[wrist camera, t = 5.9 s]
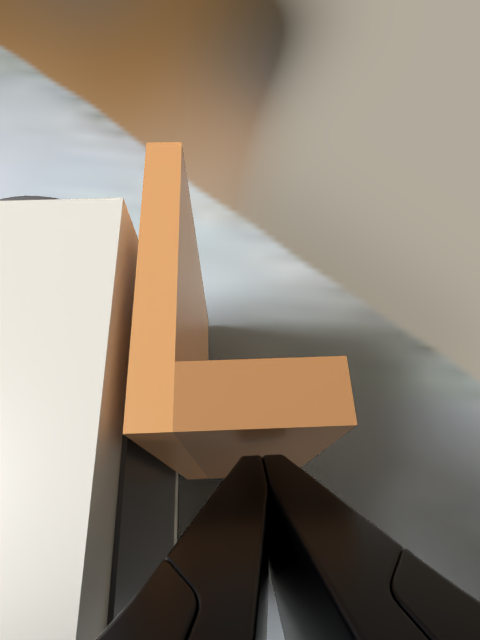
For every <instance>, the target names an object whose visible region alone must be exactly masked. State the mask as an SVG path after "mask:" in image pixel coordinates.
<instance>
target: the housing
mask: <svg viewBox="0 0 480 640" xmlns="http://www.w3.org/2000/svg"><path fill="white" fill-rule="evenodd" d="M137 253H138V238H137V235H136V232H135V229H134V227H133V224H132V221H131V218H130V216H129V213H128V210H127V207H126V204H125V202H124V199H123V198H93V199H57V198H51V197H41V196H19V197H10V198H4V199H0V640H95V639H96V638H97V637H98V636H99V635H100V634H101V633H102V632H103V631H104V630H105V629H106V628H107V626H108V625H109V624H110V623H111V622H112V621H113V620H114V619H115V618H116V616H117V615H118V614H119V613H120V612H121V611H122V610H123V609H124V608H125V607H126V605H127V604H128V603H129V602H130V601H131V599H132V598H133V597H134V596H135V595H136V593H137V592H138V591H139V590H140V588H141V587H142V586H143V585H144V583H145V582H146V581H147V580H148V578H149V577H150V576H151V575H152V573H153V572H154V571H155V569H156V568H157V567H158V565H159V564H160V563H161V561H162V560H164V559H165V557H166V556H167V555H168V553H169V552H170V551H171V549H172V548H173V547H174V545H175V544H176V543H177V515H178V474H179V473H177V472H176V471H175V470H173V469H172V468H170V467H169V466H167V465H166V464H165V463H163V462H162V461H160V460H159V459H158V458H156V457H155V456H153V455H152V454H150V453H149V452H148V451H146V450H145V449H143V448H142V447H141V446H139V445H138V444H136V443H135V442H133V441H132V440H131V439H129V438H128V437H126V436H125V435H124V434H123V424H124V412H125V399H126V387H127V375H128V363H129V351H130V338H131V326H132V314H133V302H134V290H135V278H136V265H137Z"/></svg>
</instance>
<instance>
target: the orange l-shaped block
mask: <svg viewBox="0 0 480 640" xmlns="http://www.w3.org/2000/svg"><path fill="white" fill-rule="evenodd" d="M356 426H357V419H356V413H355V406H354V400H353V394H352V387H351V381H350V375H349V368H348V362H347V356H325V357H295V358H265V359H236V360H208V315H207V308H206V301H205V295H204V288H203V281H202V275H201V268H200V261H199V254H198V248H197V241H196V234H195V228H194V221H193V214H192V208H191V201H190V194H189V187H188V181H187V175H186V167H185V161H184V154H183V147H182V143H181V142H161V143H147V144H146V156H145V168H144V180H143V192H142V204H141V217H140V229H139V241H138V253H137V265H136V278H135V290H134V302H133V314H132V326H131V338H130V351H129V363H128V375H127V387H126V399H125V412H124V424H123V434H124V435H125V436H126V437H128V438H129V439H131V440H132V441H133V442H135V443H136V444H138V445H139V446H141V447H142V448H143V449H145V450H146V451H148V452H149V453H150V454H152V455H153V456H155V457H156V458H158V459H159V460H160V461H162V462H163V463H165V464H166V465H167V466H169V467H170V468H172V469H173V470H175V471H176V472H177V473H179V474H180V475H182V476H183V477H184V478H186V479H187V480H189V479H214V478H226V476H227V475H228V474H229V472H230V471H231V470H232V468H233V467H234V466H235V464H236V463H237V462H238V460H239V459H240V458H241V457H242V456H251V455H260V456H261V457H262V458H263V456H265V455H276V454H282V455H284V456H285V457H287V458H288V459H289V460H290V461H292V462H293V463H294V464H296V465H297V466H298V467H300V468H301V467H302V466H303V465H305V464H306V463H307V462H309V461H310V460H311V459H313V458H314V457H315V456H317V455H318V454H319V453H321V452H322V451H323V450H325V449H326V448H328V447H329V446H330V445H332V444H333V443H334V442H336V441H337V440H338V439H340V438H341V437H342V436H344V435H345V434H346V433H348V432H349V431H350V430H352V429H353V428H354V427H356Z"/></svg>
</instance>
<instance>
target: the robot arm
mask: <svg viewBox="0 0 480 640" xmlns="http://www.w3.org/2000/svg"><path fill="white" fill-rule="evenodd" d="M269 568H270V573H271V579H272V584H273V588H274V592H275V597H276V601H277V606H278V610H279V615H280V619H281V623H282V628H283V632H284V637H285V640H480V602H479V601H478V600H476V599H475V598H473V597H472V596H470V595H469V594H467V593H466V592H464V591H463V590H461V589H460V588H458V587H457V586H456V585H454V584H453V583H452V582H450V581H449V580H448V579H446V578H445V577H443V576H442V575H441V574H439V573H438V572H437V571H435V570H434V569H432V568H431V567H430V566H428V565H427V564H426V563H424V562H423V561H422V560H420V559H419V558H418V557H416V556H415V555H414V554H413V553H411V552H410V551H409V550H407V549H403V548H402V546H401V545H400V544H398V543H397V542H396V541H394V540H393V539H392V538H390V537H389V536H388V535H387V534H385V533H384V532H383V531H381V530H380V529H379V528H377V527H376V526H375V525H374V524H372V523H371V522H370V521H368V520H367V519H366V518H364V517H363V516H362V515H361V514H359V513H358V512H357V511H355V510H354V509H353V508H352V507H350V506H349V505H348V504H346V503H345V502H344V501H342V500H341V499H340V498H339V497H337V496H336V495H335V494H333V493H332V492H331V491H329V490H328V489H327V488H326V487H324V486H323V485H322V484H320V483H319V482H318V481H316V480H315V479H314V478H313V477H311V476H310V475H309V474H307V473H306V472H305V471H303V470H302V469H301V468H300V467H298V466H297V465H296V464H294V463H293V462H292V461H290V460H289V459H288V458H287V457H285V456H284V455H282V454H276V455H265V456H263V458H262V457H261V456H260V455H251V456H242V457H241V458H240V459H239V460H238V462H237V463H236V464H235V466H234V467H233V468H232V470H231V471H230V472H229V474H228V475H227V476H226V478H225V479H224V480H223V482H222V483H221V484H220V486H219V487H218V488H217V490H216V491H215V492H214V494H213V495H212V496H211V498H210V499H209V500H208V502H207V503H206V504H205V505H204V507H203V508H202V509H201V511H200V512H199V513H198V515H197V516H196V517H195V519H194V520H193V521H192V523H191V524H190V525H189V527H188V528H187V529H186V531H185V532H184V533H183V535H182V536H181V537H180V539H179V540H178V541H177V543H176V544H175V545H174V547H173V548H172V549H171V551H170V552H169V553H168V555H167V556H166V557H165V559H164V560H162V561H161V563H160V564H159V565H158V567H157V568H156V569H155V571H154V572H153V573H152V575H151V576H150V577H149V578H148V580H147V581H146V582H145V583H144V585H143V586H142V587H141V588H140V590H139V591H138V592H137V593H136V595H135V596H134V597H133V598H132V599H131V601H130V602H129V603H128V604H127V605H126V607H125V608H124V609H123V610H122V611H121V612H120V613H119V614H118V615H117V616H116V618H115V619H114V620H113V621H112V622H111V623H110V624H109V625H108V626H107V628H106V629H105V630H104V631H103V632H102V633H101V634H100V635H99V636H98V637H97V638H96V639H95V640H266V638H267V612H268V585H269Z"/></svg>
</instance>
